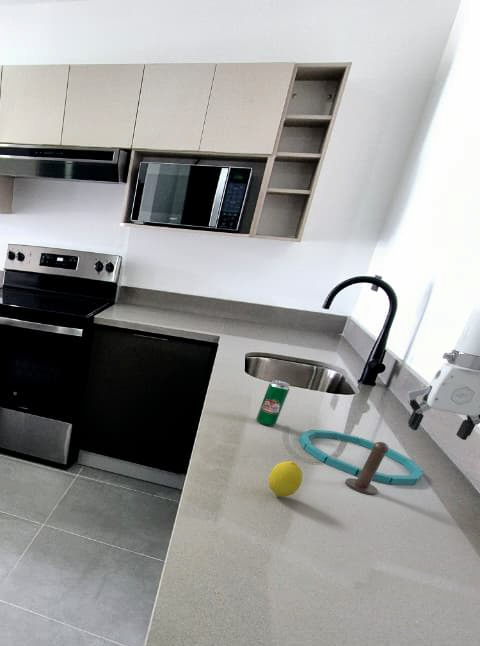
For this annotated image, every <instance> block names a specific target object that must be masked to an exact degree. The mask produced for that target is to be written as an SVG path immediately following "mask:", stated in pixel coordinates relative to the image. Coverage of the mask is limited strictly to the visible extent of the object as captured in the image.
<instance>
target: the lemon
mask: <svg viewBox="0 0 480 646" xmlns="http://www.w3.org/2000/svg"><path fill="white" fill-rule="evenodd" d="M302 482H303V472H302V469H301V467H300V466H299V465H298V464H296V463H295V462H294V461H293V460H290V461H282V462H279V463H277V464H276V465H275V466H274V467H273V468H272V470H271V471H270V473H269V476H268V486H269V489H270V491H272V492H273V493H274V495H275V496H276V497H278V498H282V497H289V496H292V495H293V494H295V493H297V491H298V490H299V489H300V487H301V485H302Z"/></svg>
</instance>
